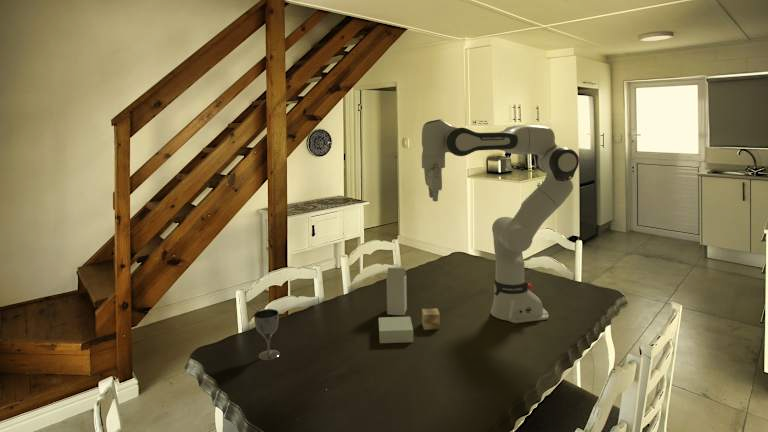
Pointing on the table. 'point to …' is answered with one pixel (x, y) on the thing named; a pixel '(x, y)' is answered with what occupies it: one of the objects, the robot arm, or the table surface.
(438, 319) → the oak cube
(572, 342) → the table surface
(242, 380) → the table surface
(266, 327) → the wine glass
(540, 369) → the table surface
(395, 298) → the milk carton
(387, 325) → the sage block
